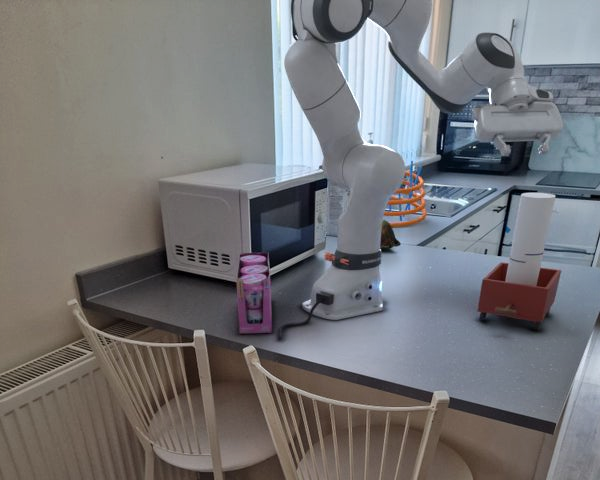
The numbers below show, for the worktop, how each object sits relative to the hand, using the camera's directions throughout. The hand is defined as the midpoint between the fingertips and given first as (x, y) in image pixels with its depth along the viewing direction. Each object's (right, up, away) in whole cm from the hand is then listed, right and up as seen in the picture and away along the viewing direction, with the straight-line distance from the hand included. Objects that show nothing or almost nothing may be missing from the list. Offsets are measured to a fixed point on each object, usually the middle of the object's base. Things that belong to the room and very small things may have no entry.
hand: (525, 153), depth 122 cm
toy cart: (0, -37, +9) cm, 38 cm away
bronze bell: (-25, -2, +71) cm, 75 cm away
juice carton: (-38, +10, +93) cm, 101 cm away
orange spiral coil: (-13, +24, +116) cm, 120 cm away
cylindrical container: (+2, -33, +10) cm, 34 cm away
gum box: (-63, -35, +15) cm, 74 cm away
